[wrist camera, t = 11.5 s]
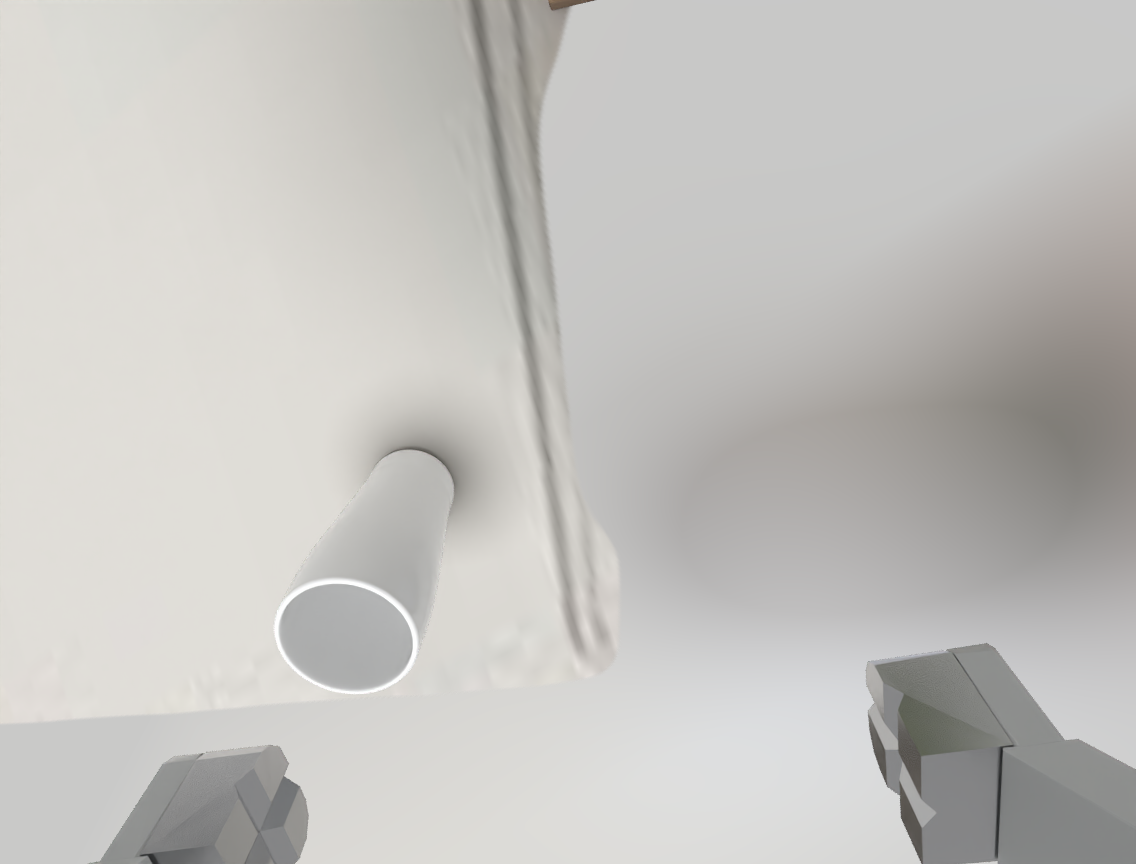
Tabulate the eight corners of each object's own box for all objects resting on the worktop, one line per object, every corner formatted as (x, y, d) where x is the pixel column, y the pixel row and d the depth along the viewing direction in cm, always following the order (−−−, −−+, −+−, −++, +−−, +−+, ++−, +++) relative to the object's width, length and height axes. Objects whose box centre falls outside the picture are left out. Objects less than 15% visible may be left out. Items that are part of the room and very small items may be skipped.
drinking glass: (486, 467, 47) (445, 619, 33) (438, 545, 49) (382, 717, 36) (387, 416, 46) (304, 553, 32) (343, 499, 48) (248, 659, 34)
